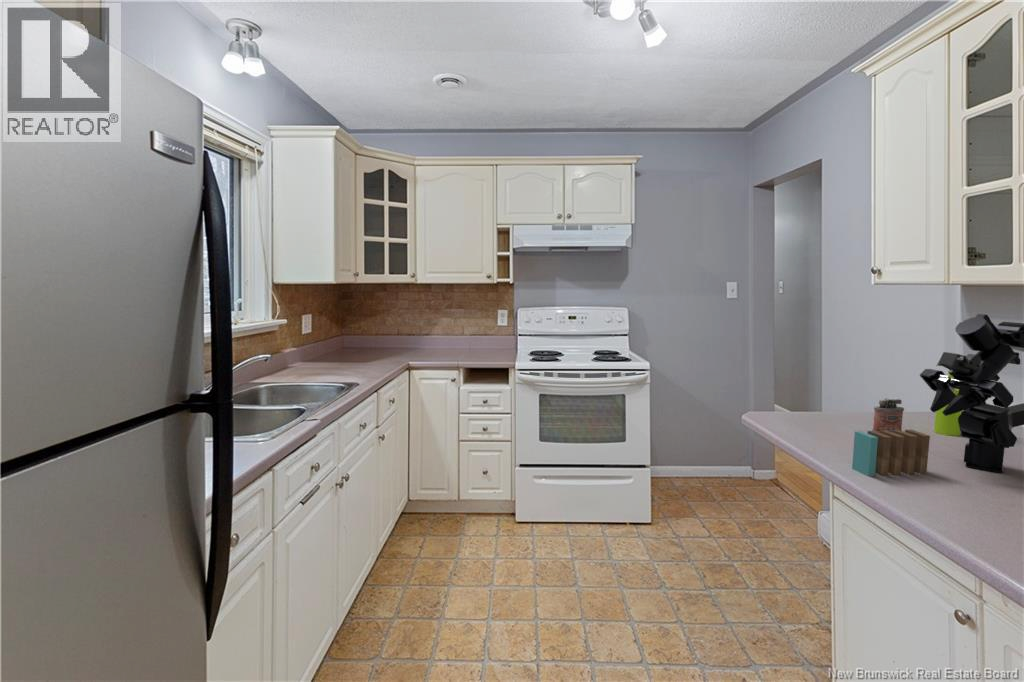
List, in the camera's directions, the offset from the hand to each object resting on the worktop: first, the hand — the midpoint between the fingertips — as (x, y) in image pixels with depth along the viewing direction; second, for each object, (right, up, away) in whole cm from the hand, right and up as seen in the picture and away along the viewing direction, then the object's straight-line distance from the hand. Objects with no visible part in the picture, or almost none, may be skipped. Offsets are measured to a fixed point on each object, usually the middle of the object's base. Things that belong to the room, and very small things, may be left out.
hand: (937, 412), depth 123 cm
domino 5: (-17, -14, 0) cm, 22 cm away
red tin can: (+10, -10, +31) cm, 34 cm away
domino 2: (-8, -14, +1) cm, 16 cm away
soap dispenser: (+27, -10, +31) cm, 43 cm away
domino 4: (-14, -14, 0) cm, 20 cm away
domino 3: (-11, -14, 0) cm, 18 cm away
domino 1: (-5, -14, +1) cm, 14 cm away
